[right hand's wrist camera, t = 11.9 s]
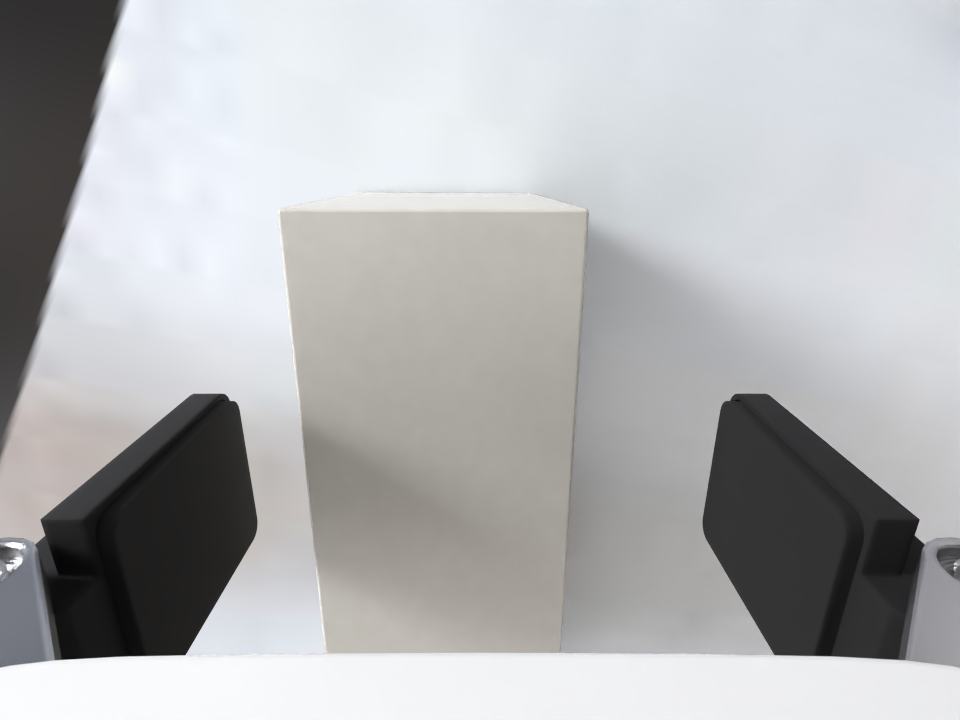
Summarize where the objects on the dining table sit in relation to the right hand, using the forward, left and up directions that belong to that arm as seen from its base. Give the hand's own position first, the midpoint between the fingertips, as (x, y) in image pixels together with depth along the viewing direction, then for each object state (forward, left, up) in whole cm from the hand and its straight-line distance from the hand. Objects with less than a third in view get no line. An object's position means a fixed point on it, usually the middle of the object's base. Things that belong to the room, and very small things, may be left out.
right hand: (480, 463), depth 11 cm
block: (+23, +9, -8) cm, 26 cm away
